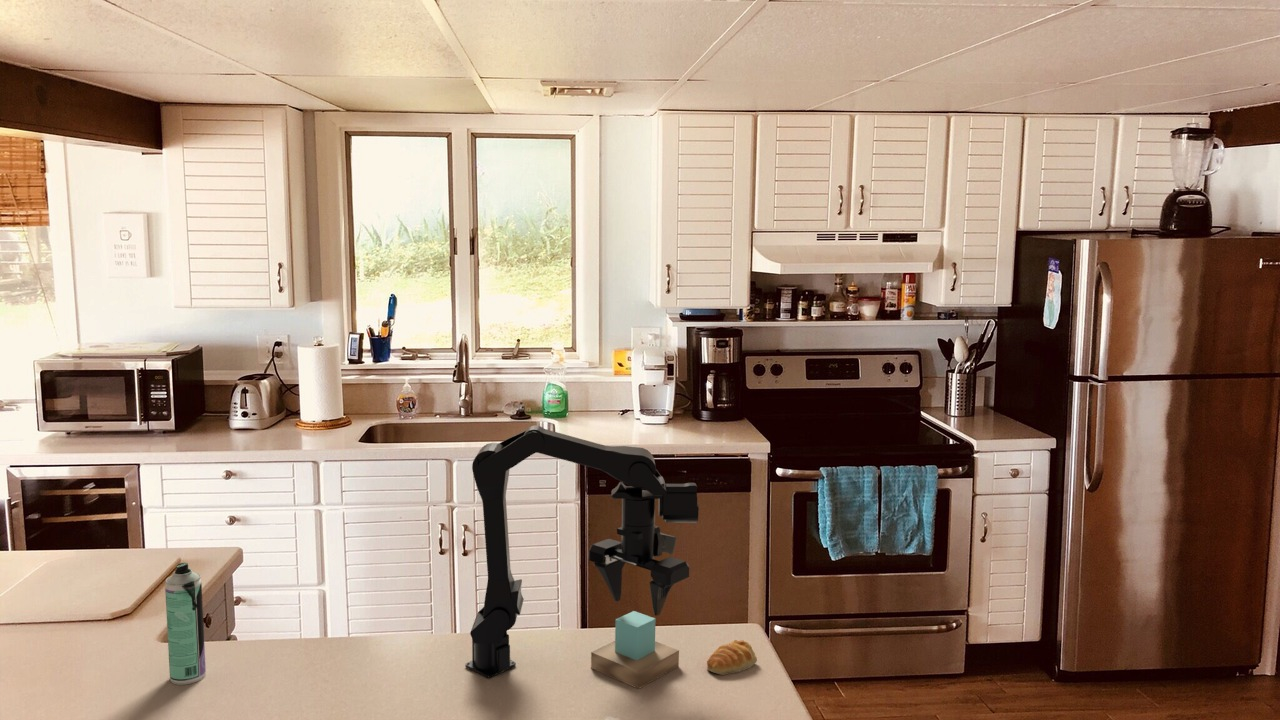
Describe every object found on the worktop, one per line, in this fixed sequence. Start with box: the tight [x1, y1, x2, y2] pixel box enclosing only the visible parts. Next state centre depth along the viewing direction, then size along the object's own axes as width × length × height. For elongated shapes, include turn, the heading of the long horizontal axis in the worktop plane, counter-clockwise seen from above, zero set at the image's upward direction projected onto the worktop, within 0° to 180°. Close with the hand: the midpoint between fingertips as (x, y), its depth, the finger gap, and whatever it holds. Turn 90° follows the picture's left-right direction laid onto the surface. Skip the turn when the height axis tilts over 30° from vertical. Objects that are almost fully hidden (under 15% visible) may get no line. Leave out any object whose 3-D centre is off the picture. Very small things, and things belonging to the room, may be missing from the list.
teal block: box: [614, 610, 657, 660], centre depth 162 cm, size 5×5×6 cm
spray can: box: [164, 562, 207, 686], centre depth 156 cm, size 6×6×20 cm
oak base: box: [590, 640, 680, 690], centre depth 163 cm, size 11×11×3 cm
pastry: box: [706, 639, 758, 676], centre depth 164 cm, size 9×7×4 cm
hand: (637, 607), depth 162 cm, fingers open, 9 cm apart
